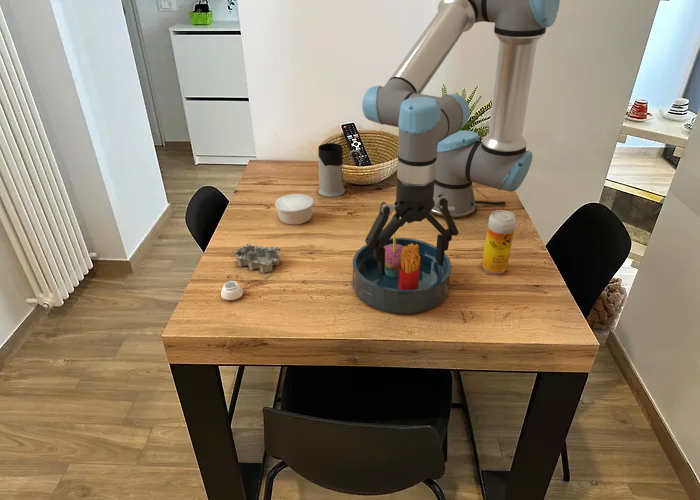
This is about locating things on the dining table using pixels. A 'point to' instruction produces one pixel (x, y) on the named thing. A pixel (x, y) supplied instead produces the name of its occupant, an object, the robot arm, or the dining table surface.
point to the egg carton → (258, 257)
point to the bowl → (385, 289)
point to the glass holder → (331, 169)
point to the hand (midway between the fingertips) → (410, 267)
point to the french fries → (409, 268)
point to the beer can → (498, 241)
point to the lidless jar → (231, 291)
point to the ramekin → (294, 208)
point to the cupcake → (393, 258)
